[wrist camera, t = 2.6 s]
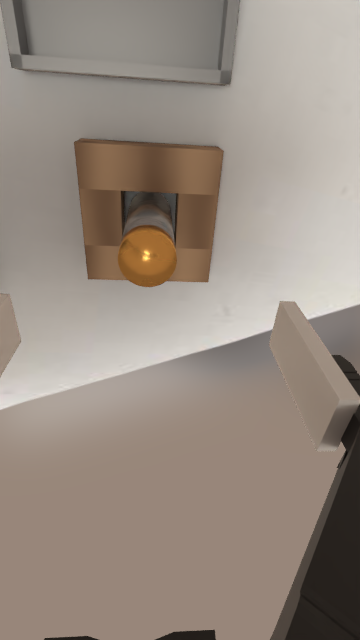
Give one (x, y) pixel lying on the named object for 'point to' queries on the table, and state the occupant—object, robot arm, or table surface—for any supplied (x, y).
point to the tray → (124, 38)
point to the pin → (148, 241)
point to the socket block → (148, 176)
